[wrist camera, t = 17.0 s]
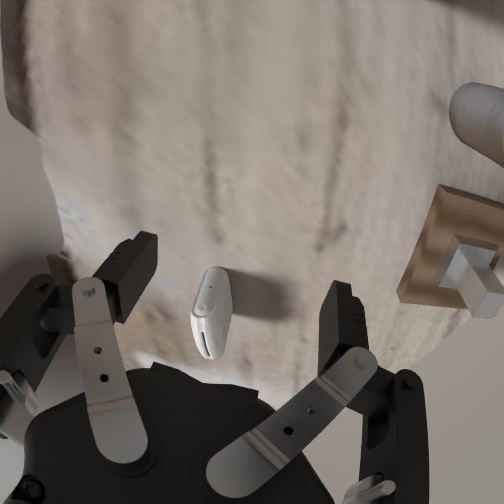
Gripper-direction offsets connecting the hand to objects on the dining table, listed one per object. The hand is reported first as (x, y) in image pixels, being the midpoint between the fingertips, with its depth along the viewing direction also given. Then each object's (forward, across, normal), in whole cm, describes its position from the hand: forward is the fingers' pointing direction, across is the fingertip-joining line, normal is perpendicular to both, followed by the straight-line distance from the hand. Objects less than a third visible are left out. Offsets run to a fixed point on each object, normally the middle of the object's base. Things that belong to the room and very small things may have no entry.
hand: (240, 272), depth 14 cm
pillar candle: (+32, -25, -11) cm, 42 cm away
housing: (+28, -32, +10) cm, 44 cm away
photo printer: (+29, +4, +29) cm, 41 cm away
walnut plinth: (+31, -32, +11) cm, 46 cm away
